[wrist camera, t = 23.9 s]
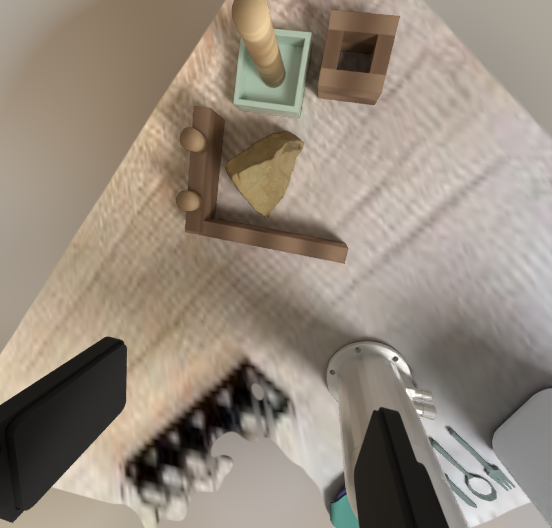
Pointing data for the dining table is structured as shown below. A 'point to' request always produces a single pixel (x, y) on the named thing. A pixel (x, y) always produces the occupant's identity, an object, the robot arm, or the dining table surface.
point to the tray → (290, 93)
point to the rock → (265, 170)
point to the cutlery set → (349, 524)
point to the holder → (364, 39)
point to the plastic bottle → (529, 450)
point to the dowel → (260, 39)
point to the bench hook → (203, 197)
